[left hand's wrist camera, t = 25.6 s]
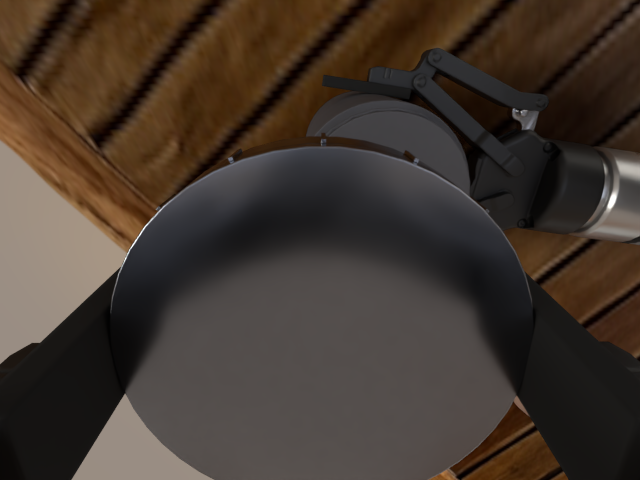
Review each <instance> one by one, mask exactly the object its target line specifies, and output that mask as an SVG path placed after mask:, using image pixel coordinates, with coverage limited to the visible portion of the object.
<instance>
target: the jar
mask: <svg viewBox="0 0 640 480" xmlns="http://www.w3.org/2000/svg"><path fill="white" fill-rule="evenodd" d="M321 133H326V136H329V137H344V138H351V139H358V140H365V141H369V142H373V143H376V144H380V145H383V146H387V147H390V148H393V149H396V150H398V151H400V152H402V153H404V152H405V150H407V151H409V152H410V153H412V154H413V155H414V156H415V157H417V158H418V159H419V160H420V161H421V162H423V163H425V164H426V165H428V166H429V167H431V168H433V169H434V170H436V171H438V172H439V173H441V174H442V175H443V176H445V177H446V178H447V179H448V180H450V181H451V182H452V183H454V184H455V185H456V186H457V187H459V188H460V189H461V190H462V191H464V192H465V193H466V194H467V195H468V196H470V178H469V170H468V164H467V160H466V156H465V153H464V150H463V148H462V146H461V144H460V142H459V140H458V138H457V137H456V135H455V134H454V133H453V131H452V130H451V129H450V128H449V126H448V125H447V124H446V123H445V122H443V121H442V120H441V119H440V118H439V117H437V116H436V115H435V114H433V113H432V112H430V111H428V110H426V109H424V108H422V107H420V106H417V105H414V104H411V103H408V102H405V101H401V100H398V99H394V98H391V97H387V96H384V95H378V94H371V93H365V92H359V91H351V92H347V93H343V94H340V95H338V96H336V97H334V98H332V99H331V100H329V101H328V102H327V103H325V104H324V105H323V106H322V107H321V108H320V109H319V110H318V111H317V113H316V114H315V115H314V117H313V119H312V121H311V123H310V125H309V127H308V131H307V134H306V137H308V136H321Z"/></svg>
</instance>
